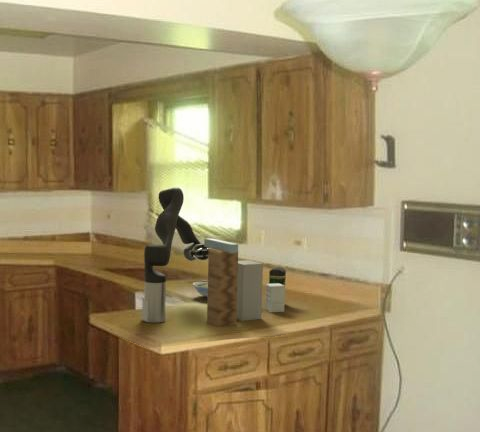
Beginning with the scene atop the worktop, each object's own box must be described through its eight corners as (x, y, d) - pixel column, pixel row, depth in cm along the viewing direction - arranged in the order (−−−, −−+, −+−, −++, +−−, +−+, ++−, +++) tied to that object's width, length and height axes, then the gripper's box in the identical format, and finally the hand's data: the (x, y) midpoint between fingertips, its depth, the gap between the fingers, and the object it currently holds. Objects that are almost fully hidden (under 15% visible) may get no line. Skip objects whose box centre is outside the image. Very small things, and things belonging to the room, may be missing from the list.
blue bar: (230, 252, 306) (231, 244, 306) (204, 246, 327) (204, 238, 327) (238, 252, 308) (238, 244, 308) (211, 246, 329) (211, 238, 328)
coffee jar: (282, 307, 357) (283, 269, 356) (266, 306, 359) (267, 268, 358) (286, 303, 367) (287, 266, 365) (270, 302, 369) (271, 265, 367)
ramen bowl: (199, 303, 361) (200, 286, 361) (184, 295, 382) (184, 279, 381) (245, 300, 372) (246, 284, 371) (228, 293, 392) (228, 277, 392)
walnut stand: (217, 326, 311) (219, 251, 309) (206, 321, 320) (208, 249, 317) (236, 324, 316) (238, 251, 313) (224, 320, 324) (226, 248, 322)
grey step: (242, 320, 324) (243, 264, 322) (228, 315, 334) (230, 261, 332) (261, 318, 329) (263, 263, 327) (247, 313, 339) (249, 260, 338)
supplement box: (278, 309, 353) (279, 283, 352) (284, 312, 346) (285, 285, 345) (264, 309, 350) (265, 283, 349) (269, 312, 343) (270, 286, 342)
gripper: (185, 245, 347) (192, 245, 331) (215, 242, 351) (223, 243, 335) (186, 260, 347) (193, 262, 331) (216, 258, 351) (224, 259, 335)
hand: (208, 252), depth 333 cm, fingers open, 8 cm apart
